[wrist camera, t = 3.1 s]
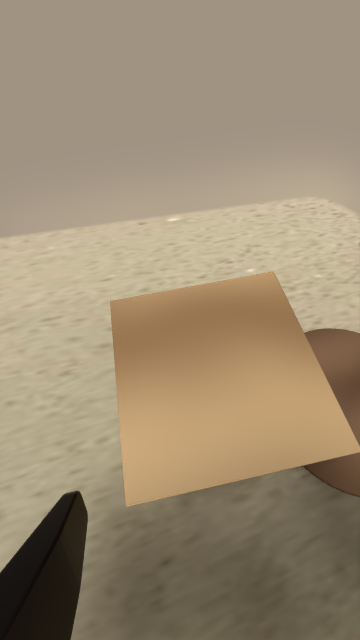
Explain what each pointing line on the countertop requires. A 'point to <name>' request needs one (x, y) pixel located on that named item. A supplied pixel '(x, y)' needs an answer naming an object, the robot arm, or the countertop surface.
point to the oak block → (218, 389)
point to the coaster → (340, 400)
